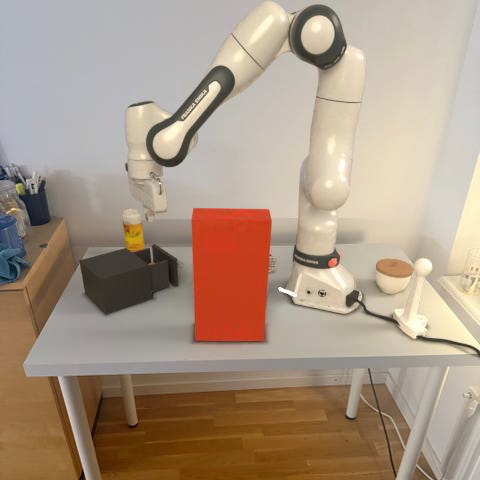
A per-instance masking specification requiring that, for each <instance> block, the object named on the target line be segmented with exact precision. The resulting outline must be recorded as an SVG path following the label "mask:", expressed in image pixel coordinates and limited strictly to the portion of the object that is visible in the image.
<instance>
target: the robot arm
mask: <svg viewBox="0 0 480 480" xmlns="http://www.w3.org/2000/svg"><path fill="white" fill-rule="evenodd" d="M285 53H291V54H293V55H294V56H296V57H297V58H298V59H299V60H300V61H302V62H304V63H307V64H309V65H311V66H313V67H316V68H317V73H318V77H317V78H318V81H317V87H316V92H315V99H314V104H313V112H312V117H311V123H310V130H309V147H308V149H309V150H308V154H307V156H305V158H304V159H303V161H302V163H301V166H300V170H299V181H298V205H297V206H298V207H297V208H298V212H297V214H298V215H297V227H296V238H295V244H294V245H293V250H292V268H291V272H290V275H289V278H288V281H287V283H286V286H285V289H284V288H282V287H278V290H279V292H282V293H285V294H288V295H289V297H291V299H292V302H293V304H296V305H299V306H304V307H309V308H314V309H318V310H322V311H327V312H332V313H336V314H338V313H339V314H341V315H342V314H343V315H345V314H349V313H352V312H354V311H355V310H356V309H357V308H358V307H359V306H361V307H362V309H363V311H364V313H366V314H368V315H369V316H373V317H376V318H379V319H383V320H387V321H390V322H392V323H394V324H395V325H396V326H398V325H399V323H398V321H396V320H394V319H393V317H390V316H386V315H380V314H376V313H374V312H371V311H369V310H368V308H367V306H366V304H365V303H364V302H362V300H363V293H362V292H361V291H360V290H359V289H357V287H356V279H355V277H354V275H353V273H352V274H351V272H350V271H349V270H348V269H346V267H345V266H344V265H343V264H342V263H341V262H340V261H341V257H342V256H343V251H341V252H339V253H338V251H337V249H336V243H337V237H338V229H339V208H341V207H342V206H343V205H344V204H345V203H346V202H347V201H348V199H349V196H350V192H351V178H352V177H351V176H352V169H353V159H354V149H355V148H354V146H355V139H356V132H357V127H358V122H359V118H360V113H361V109H362V104H363V99H364V94H365V88H366V79H367V78H366V77H367V63H368V62H367V56H366V53H365V52H364V51H363V50H362V49H361V48H359V47H358V46H356V45H354V44H350V43H347V39H346V36H345V33H344V29H343V25H342V22H341V20H340V17H339V15H338V14H337V12H336V11H335V10H334V9H332V8H331V7H330V6H328V5H325V4H319V3H312V4H309V5H306V6H304V7H302V8H301V9H300V10H296V11H294V12H291V13H289V12H287V11H286V10H285V8H283V6H281V5H280V4H279V3H277V2H275V1H272V0H264V1H261V2H260V3H258V4H257V5H256V6H255V7H254V8H253V9H252V10H250V11H249V12H248V13H246V15H245V16H244V17H243V18H242V19H241V20H240V21H239V22H238V24H236V26H234V28H233V29H232V31H231V32H230V33H229V34H228V35H227V37H226V38H225V40H223V42H222V44H221V46H220V47H219V48H218V50H217V52H216V54H215V55H214V57H213V59H212V61H211V63H210V65H209V67H208V68H207V70H206V72H205V73H204V75H203V77H202V78H201V80H200V81H199V83H198V85H197V86H196V87H195V88H194V90H193V91H192V92H191V93H190V94H189V95H188V96H187V98H186V99H185V100H184V102H183V103H182V104H181V105H180V106H179V108H178V109H177V110H176V111H175V112H174V113H172V112H170V111H168V110H166V109H165V108H163V107H161V106H160V105H158V104H157V102H155V101H153V100H144V101H140V102H135V103H131V104H130V105H129V106H127V107H126V108H125V111H124V134H125V135H124V137H125V142H126V145H127V161H126V162H125V163H124V170H125V171H126V172H127V180H128V186H129V191H130V194H131V196H132V197H133V198H134V199H136V200H137V201H139V202H140V203H141V207H142V209H143V212H144V219H146V221H148V222H149V223H151V222H155V220H156V218H155V215H156V214H162V213H167V211H168V209H169V208H168V207H169V205H168V198H167V197H168V196H167V190H166V189H167V188H166V185H165V183H164V182H163V181H161V178H162V177H163V176H164V167H165V168H175V167H177V166H180V165H181V164H182V163H183V162H184V161H185V159H186V158H187V157H188V155H190V153H192V152H193V151H194V149H195V148H196V147H197V144H198V140H199V135H198V131H199V130H201V128H202V127H203V126H204V124H206V122H207V121H208V120H209V118H210V117H211V116H212V115H213V114H214V113H215V112H216V111H217V110H218V109H219V108H220V107H221V106H222V105H223V104H225V103H226V102H228V101H230V100H231V99H232V98H234V97H236V96H238V95H239V94H241V93H243V92H244V91H246V90H247V89H248V88H249V87H251V86H252V85H253V84H254V83H255V82H256V81H258V80H259V79H260V77H262V76H263V74H265V72H266V71H267V70H268V69H269V67H270V66H271V65H272V64H273V63H274V62H275V60H277V59H278V58H279V57H280V56H281V55H283V54H285ZM399 326H400V325H399ZM416 339H419V340H422V341H429V342H440V343H447V344H451V345H455V346H459V347H465V348H467V349H470V350H471V351H474V352H475V353H477V355H479V356H480V349H479V348H477V347H475V346H474V345H472V344H468V343H464V342H459V341H455V340H451V339H445V338H438V337H437V338H435V337H426V336H422V335H418V336H416Z"/></svg>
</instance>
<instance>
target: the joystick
mask: <svg viewBox="0 0 480 480" xmlns="http://www.w3.org/2000/svg"><path fill="white" fill-rule="evenodd" d="M412 267H413V273H414V274H415V276H414V279H413V282H412V285H411V289H410V292H409V294H408V298H407V301H406V304H405V307H400V308H395V309H394V310H393V315H392V319H394V320H396V321H398V323H399V325H400V326H399V325H397V327H398V328H399V329H400V330H401V331H402V332H403V333H404V334H406V335H407V336H409V338H411V339H417V338H416V336H418V335H419V336H423V337H426V335H427V331H428V329H427V327H426V326H427V323H428V321H429V320H428V318H427V317H426V316H425V315H423V314H418V309H419V305H420V301H421V296H422V291H423V288H424V282H425V279H426V277H427V276H428V275H430V273H432V271H433V263H432V262H431V260H430V259H428V258H427V257H426V258H425V257H422V258H421V257H420V258H418V259H416V260H415V261H414V263H413V265H412Z"/></svg>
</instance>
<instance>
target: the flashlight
mask: <svg viewBox="0 0 480 480" xmlns="http://www.w3.org/2000/svg"><path fill="white" fill-rule="evenodd" d="M277 265H278V260H277V259H276V257H274V256H273V255H272V254H271V253H270V257H269V272H268V273H271V272H273V271H274V270H275V269H276V268H277Z"/></svg>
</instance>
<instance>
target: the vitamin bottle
mask: <svg viewBox="0 0 480 480" xmlns="http://www.w3.org/2000/svg"><path fill="white" fill-rule="evenodd" d="M121 219H122V226H123V227H122V228H123V235H124V242H125V248H127V249H128V250H130V251H131V252H135V251H139V250H143V249H145V238H144V230H143V219H142V213H141V211H140V210H139V209H138V208H127V209H125V210H123V211H122V215H121Z"/></svg>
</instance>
